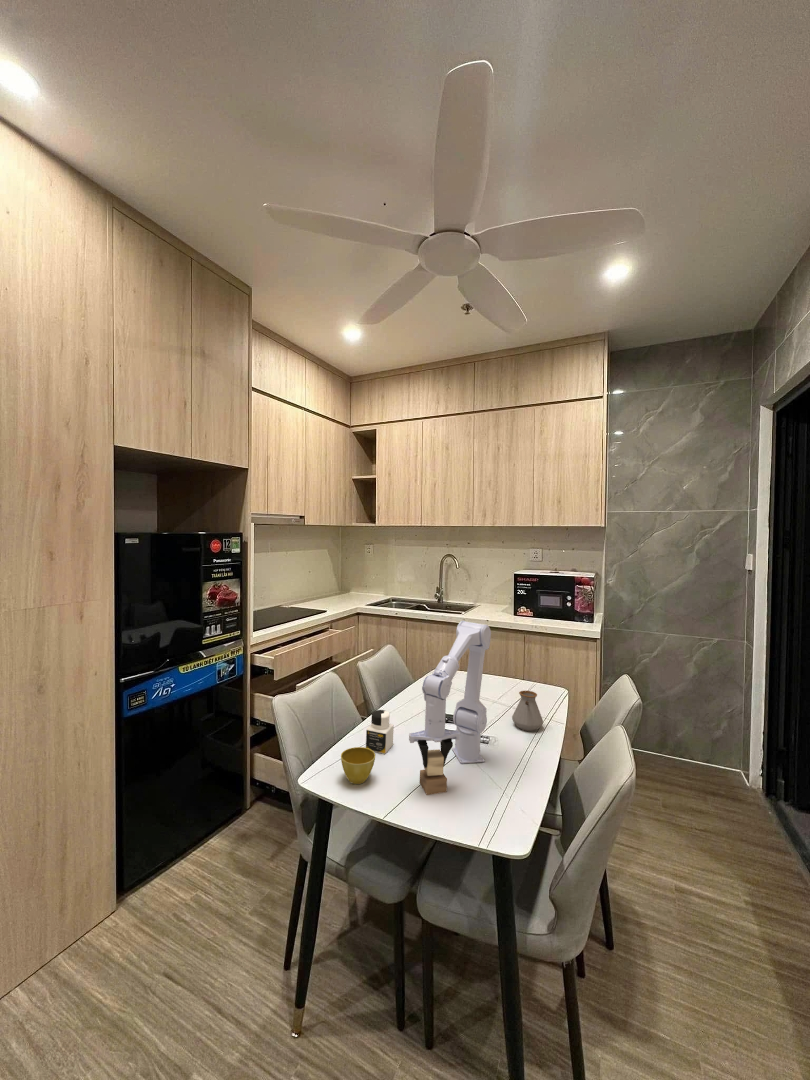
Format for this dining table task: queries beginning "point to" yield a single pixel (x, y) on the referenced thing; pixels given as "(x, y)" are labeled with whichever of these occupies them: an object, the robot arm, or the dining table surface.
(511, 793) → the dining table surface
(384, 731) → the medicine bottle
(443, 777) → the walnut plinth
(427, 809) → the dining table surface
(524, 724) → the coffee pot
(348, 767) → the flower pot
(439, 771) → the beech cube
